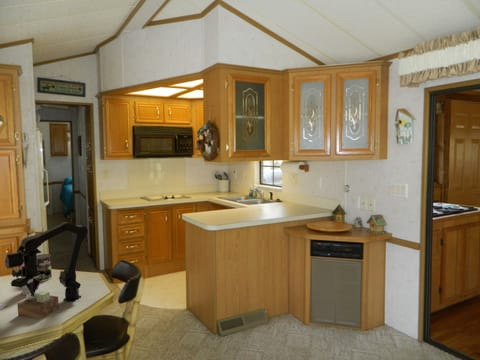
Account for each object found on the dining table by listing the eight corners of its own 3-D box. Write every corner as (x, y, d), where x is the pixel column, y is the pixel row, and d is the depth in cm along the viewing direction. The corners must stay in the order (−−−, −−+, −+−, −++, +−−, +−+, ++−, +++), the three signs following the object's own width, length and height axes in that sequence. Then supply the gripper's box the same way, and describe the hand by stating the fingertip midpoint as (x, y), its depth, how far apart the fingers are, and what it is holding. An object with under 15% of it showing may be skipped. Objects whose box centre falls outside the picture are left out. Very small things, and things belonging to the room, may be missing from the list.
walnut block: (37, 305, 192) (37, 293, 192) (58, 308, 189) (58, 296, 188) (18, 315, 181) (17, 303, 180) (39, 318, 177) (39, 306, 177)
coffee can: (55, 277, 232) (54, 255, 230) (38, 283, 223) (37, 260, 222) (46, 274, 237) (44, 253, 236) (29, 279, 229) (28, 257, 227)
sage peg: (43, 302, 186) (42, 290, 185) (50, 303, 185) (49, 291, 184) (37, 305, 182) (36, 294, 182) (43, 306, 181) (43, 294, 180)
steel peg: (33, 303, 188) (32, 292, 187) (39, 304, 187) (39, 293, 186) (26, 306, 184) (26, 295, 184) (33, 307, 183) (32, 296, 182)
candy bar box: (29, 288, 216) (27, 260, 214) (38, 287, 216) (37, 259, 215) (21, 295, 205) (19, 266, 203) (31, 295, 205) (29, 266, 204)
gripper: (32, 256, 195) (34, 285, 196) (0, 268, 177) (3, 300, 178) (50, 258, 191) (52, 287, 193) (19, 270, 174) (21, 302, 175)
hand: (32, 294), depth 185 cm, fingers closed, pressing on steel peg
